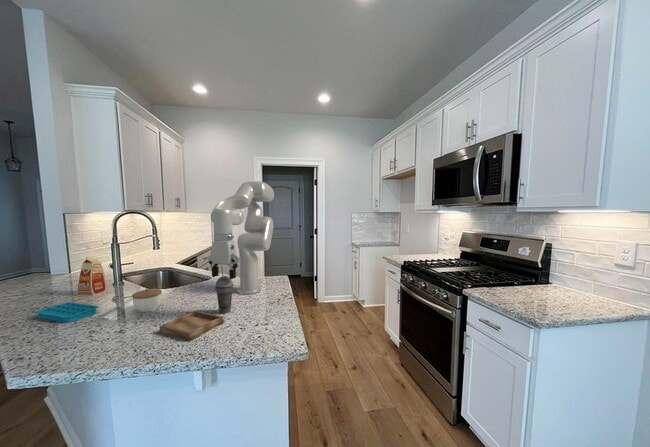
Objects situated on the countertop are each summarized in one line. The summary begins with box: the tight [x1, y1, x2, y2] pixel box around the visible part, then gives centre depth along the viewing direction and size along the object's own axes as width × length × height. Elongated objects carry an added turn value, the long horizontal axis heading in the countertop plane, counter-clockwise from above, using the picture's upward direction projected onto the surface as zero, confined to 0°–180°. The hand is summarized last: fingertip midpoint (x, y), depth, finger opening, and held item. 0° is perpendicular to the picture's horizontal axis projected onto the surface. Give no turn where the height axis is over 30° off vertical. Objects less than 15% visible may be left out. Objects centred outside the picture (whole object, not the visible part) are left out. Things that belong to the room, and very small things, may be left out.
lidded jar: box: [131, 287, 163, 313], centre depth 112 cm, size 11×11×9 cm
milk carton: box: [76, 256, 108, 297], centre depth 134 cm, size 9×9×20 cm
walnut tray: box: [159, 310, 225, 342], centre depth 95 cm, size 15×15×2 cm
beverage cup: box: [215, 265, 234, 315], centre depth 109 cm, size 7×7×20 cm
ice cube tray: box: [34, 301, 100, 323], centre depth 107 cm, size 12×20×3 cm, turn 74°
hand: (223, 277), depth 109 cm, fingers open, 9 cm apart
